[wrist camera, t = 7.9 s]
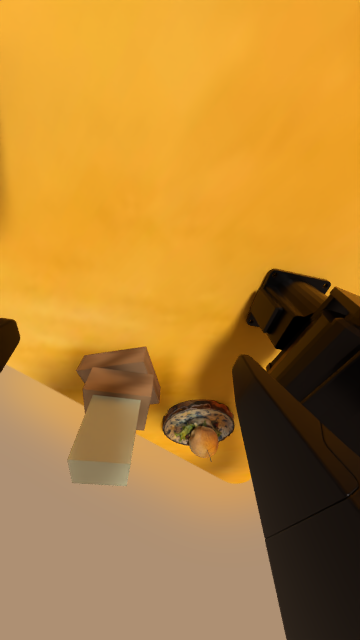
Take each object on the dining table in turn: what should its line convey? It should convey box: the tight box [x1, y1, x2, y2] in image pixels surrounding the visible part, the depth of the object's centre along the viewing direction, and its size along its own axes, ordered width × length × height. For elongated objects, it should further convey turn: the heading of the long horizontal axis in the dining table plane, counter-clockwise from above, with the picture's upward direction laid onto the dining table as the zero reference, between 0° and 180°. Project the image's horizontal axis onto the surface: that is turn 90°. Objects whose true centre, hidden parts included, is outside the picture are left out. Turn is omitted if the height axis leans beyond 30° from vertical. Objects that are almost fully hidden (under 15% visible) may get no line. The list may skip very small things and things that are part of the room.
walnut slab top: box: [83, 367, 154, 430], centre depth 24 cm, size 7×7×3 cm
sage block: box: [68, 395, 141, 486], centre depth 20 cm, size 5×5×6 cm
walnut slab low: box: [76, 347, 160, 404], centre depth 27 cm, size 8×8×3 cm
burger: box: [163, 399, 235, 462], centre depth 31 cm, size 12×12×8 cm
